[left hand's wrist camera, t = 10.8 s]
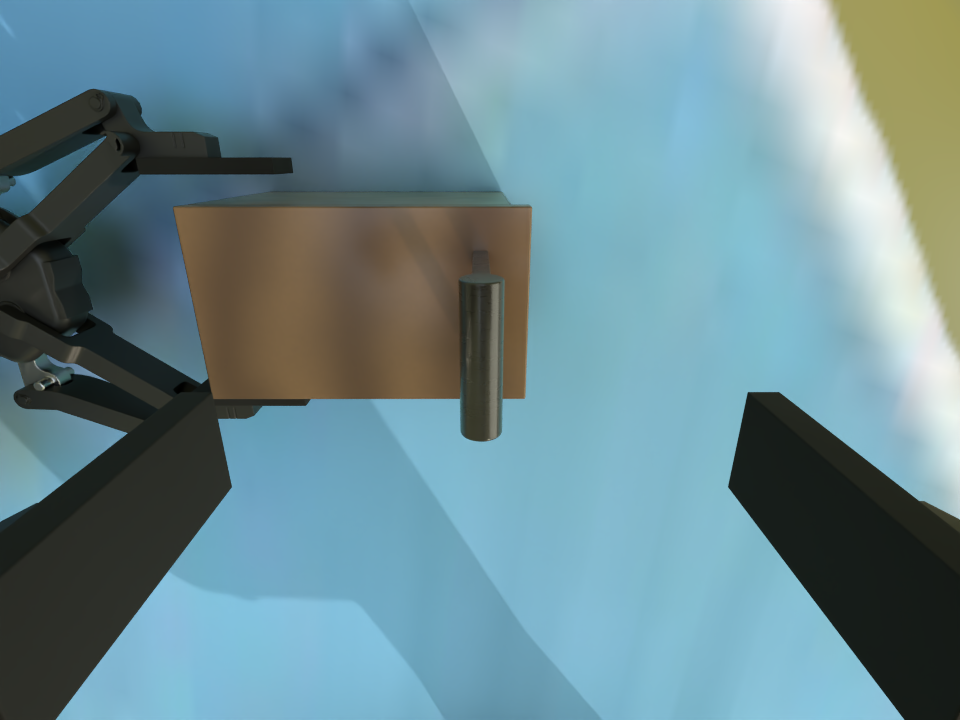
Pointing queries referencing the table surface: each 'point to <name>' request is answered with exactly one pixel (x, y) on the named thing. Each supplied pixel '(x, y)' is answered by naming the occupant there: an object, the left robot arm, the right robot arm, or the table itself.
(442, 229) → the lid
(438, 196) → the chest
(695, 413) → the table surface
